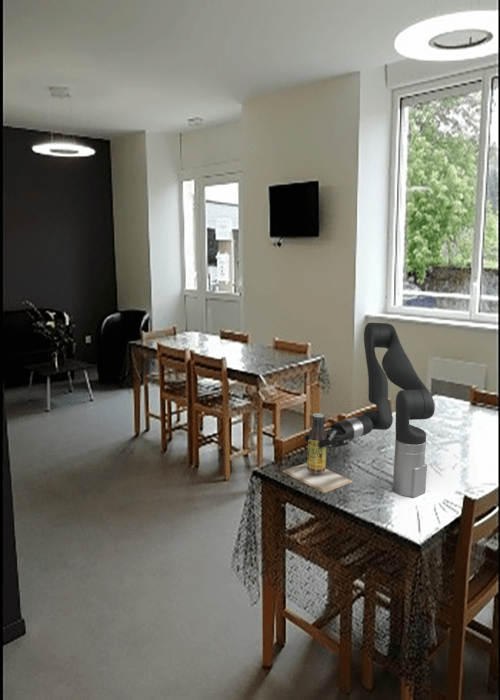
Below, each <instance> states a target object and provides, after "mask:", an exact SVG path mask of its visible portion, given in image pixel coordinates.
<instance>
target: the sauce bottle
mask: <svg viewBox="0 0 500 700" xmlns="http://www.w3.org/2000/svg"><path fill="white" fill-rule="evenodd" d="M325 419H326V416H325V414H324V413H319V412H318V413H317V412H316V413H313V414H312V425H311V426H312V427H311V429H310V430H311V431H310V430H309V433H308V434H309V438H308V442H307V456H306V457H307V459H306V463H307V466H308V467H307V468H308V471H309V472H311V473H322V472H324V471H325V468H326V466H327V465H326V464H327V448H328V446H326V447H323V448H319V441H322V440H325V439H327V434H326V432H325V430H324V429H325V425H324V424H325Z"/></svg>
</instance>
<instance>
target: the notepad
mask: <svg viewBox="0 0 500 700" xmlns="http://www.w3.org/2000/svg"><path fill="white" fill-rule="evenodd" d="M307 467H308V466H307V462H304V463H302V464H299V465H295V466H292V467H290V468H288V469H283V470H282V473H284V474H286V475H288V476H289V475H290V477H291V478H293V479H295V480H297V481H300V482H302V483H304V484H306V485H307V486H310V487H311V488H313V489H315V490H317V491H319V492H321V493H323V494H325V493H328V492H331V491H333V490H336V489H338V488H341V487H343V486H345V485H348V484H350V483H353V480H351V479H350V478H347V477H345V476H343V475H341V474H338V473H336V472H334V471H332V470H330V469H328V468H326V467H325V471H324V472H322V473H311V472H309V471H308V468H307Z"/></svg>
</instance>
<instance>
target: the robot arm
mask: <svg viewBox="0 0 500 700" xmlns="http://www.w3.org/2000/svg"><path fill="white" fill-rule="evenodd" d="M363 330H364V331H363V344H364V345H363V346H364V352H365V353H364V355H365V361H366V366H367V377H368V379H367V380H368V392H367V393H368V395H367V396H368V397H367V398H368V402H369V403H370V404H374V405H375V406H376V410H375V409H372V410H368V411H365V412H363V413H361V414H360V415H357V416H355V417H354V416H353V417H351V418H350V417H349V418H346V419H343V420H340V421H336V422H333V423H332V425H331V426H330V427H327V428H324V430H325V432H326V434H327V439H325V440H322V441H319V448H323V447H326V446H327V447H332V446H333V448H338V447H339V448H340V447H343V446H347V445H348V444H349V442H351V441H355V440H356V439H359V438H361V437H363V436H366V435H369V433H371V432H372V430H378V431H379V430H380V431H385V430H386V431H387V430H389V429H390V428H391V427H392V425H393V421H394V417H393V413H392V412H393V411H392V409H391V404H390V402H389V396H388V395H389V381H390V382H391V383H392V384H394V385H395V386H396V387H398V388H400V389H402V390H399V391H398V392H397V394H396V398H395V425H394V426H395V427H394V428H395V441H394V455H393V456H394V458H393V473H392V475H393V476H392V479H393V480H392V490H393V491H394V493H396V494H398V495H401V496H405V497H411V498H414V499H415V498H416V497H419V496H420V495H423V494H425V493H426V487H427V486H426V485H427V470H428V465H427V464H426V463H425V462H426V461H425V458H426V444H427V443H426V442H427V433H426V432H425V430H424V429H422V428H421V427H417V426H414V425H413V424H412V425H411V424H410V421H411V420H413V421H414V420H415V421H416V420H419V421H421V420H429V419H431V418H432V417H433V416H434V415H435V412H436V411H435V409H436V408H435V401H434V398H433V395H432V394H431V392H430V390H429V389H428V388H427V387H426V385H425V384H424V382H423V381H422V380H421V378H420V377H419V375H418V373H417V372H416V370H415V368H414V366H413V364H412V362H411V360H410V359H409V357H408V355H407V353H406V351H405V349H404V347H403V346H402V344H401V342H400V339H399V335H398V333H397V330H396V328H395V327H394V326H393V325H392V324H391V323H386V322H383V323H382V322H367V324H366V325H365V327H364V329H363ZM375 348H381V349H382V348H383V349H387V350H386V352H385V353H384V355H383V357H382V360H381V364H380V362H379V361H378V359H377V355H376V351H375ZM388 380H389V381H388ZM310 431H311V429H310V430H309V432H310ZM308 438H309V433H308V434H305V435H304V442H305V443H308Z"/></svg>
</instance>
